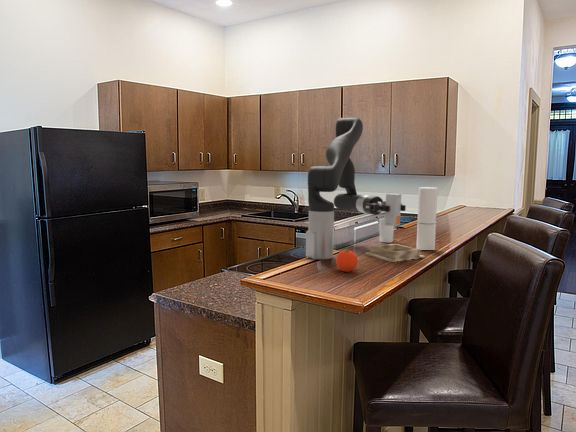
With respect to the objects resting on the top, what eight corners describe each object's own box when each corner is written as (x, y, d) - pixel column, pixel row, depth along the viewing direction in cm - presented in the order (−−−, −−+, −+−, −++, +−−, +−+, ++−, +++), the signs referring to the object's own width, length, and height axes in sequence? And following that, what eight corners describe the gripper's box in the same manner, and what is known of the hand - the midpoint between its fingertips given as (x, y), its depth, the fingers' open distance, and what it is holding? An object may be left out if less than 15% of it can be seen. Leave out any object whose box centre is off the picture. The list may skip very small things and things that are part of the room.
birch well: (391, 262, 159) (391, 253, 158) (364, 254, 172) (365, 246, 171) (425, 258, 166) (425, 249, 166) (397, 251, 179) (397, 242, 179)
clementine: (331, 268, 148) (332, 247, 147) (351, 267, 150) (351, 246, 149) (340, 274, 140) (340, 252, 139) (361, 273, 142) (361, 251, 141)
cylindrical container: (436, 248, 185) (439, 187, 182) (431, 251, 179) (434, 188, 176) (419, 247, 189) (421, 187, 186) (414, 249, 183) (416, 187, 180)
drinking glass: (395, 242, 198) (396, 220, 197) (380, 242, 199) (380, 220, 197) (392, 240, 205) (392, 218, 204) (377, 240, 205) (378, 218, 204)
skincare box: (395, 226, 168) (396, 194, 167) (384, 225, 171) (385, 194, 169) (400, 224, 174) (401, 193, 172) (389, 224, 176) (390, 193, 174)
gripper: (355, 195, 180) (382, 199, 166) (383, 195, 187) (411, 198, 172) (354, 214, 181) (381, 219, 166) (382, 213, 188) (411, 217, 173)
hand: (397, 208), depth 169 cm, fingers closed on skincare box, 7 cm apart
